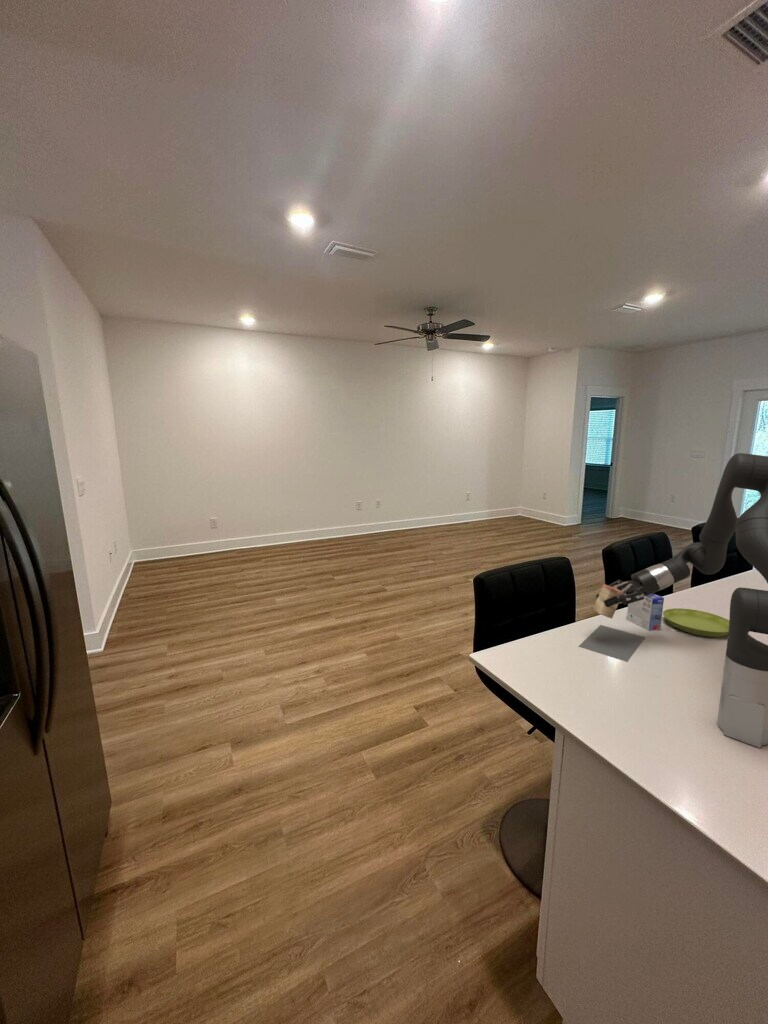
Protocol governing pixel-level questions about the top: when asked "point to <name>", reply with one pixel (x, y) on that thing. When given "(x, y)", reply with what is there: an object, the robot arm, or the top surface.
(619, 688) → the top surface
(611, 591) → the beech block
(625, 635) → the rubber mat
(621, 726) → the top surface
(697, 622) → the saucer
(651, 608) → the ink cartridge box
